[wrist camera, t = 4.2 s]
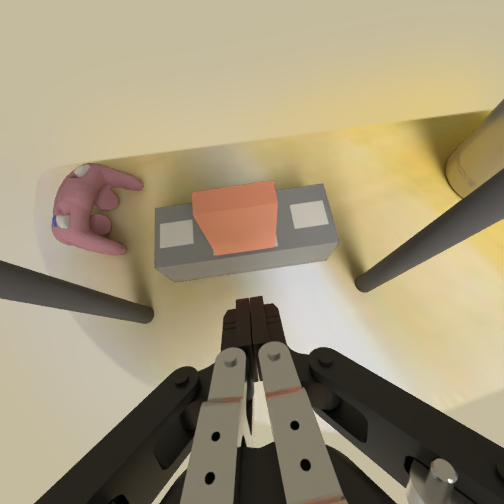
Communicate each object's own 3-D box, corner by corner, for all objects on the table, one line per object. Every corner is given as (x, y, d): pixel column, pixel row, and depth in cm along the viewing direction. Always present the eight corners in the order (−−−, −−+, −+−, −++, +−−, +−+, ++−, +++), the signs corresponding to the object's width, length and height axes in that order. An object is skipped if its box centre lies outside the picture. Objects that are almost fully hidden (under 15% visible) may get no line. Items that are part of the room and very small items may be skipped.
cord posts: (369, 275, 25) (573, 133, 8) (374, 291, 25) (603, 172, 8) (138, 308, 25) (-116, 236, 9) (138, 324, 25) (-137, 281, 8)
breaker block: (313, 209, 28) (322, 181, 23) (326, 260, 26) (339, 241, 21) (173, 229, 28) (154, 206, 24) (174, 282, 26) (154, 268, 21)
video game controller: (125, 190, 33) (67, 155, 27) (148, 181, 30) (89, 141, 25) (104, 261, 29) (32, 239, 24) (128, 257, 27) (55, 232, 21)
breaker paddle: (272, 230, 22) (273, 180, 15) (275, 247, 21) (277, 202, 14) (215, 238, 22) (191, 192, 15) (216, 255, 21) (192, 215, 15)
